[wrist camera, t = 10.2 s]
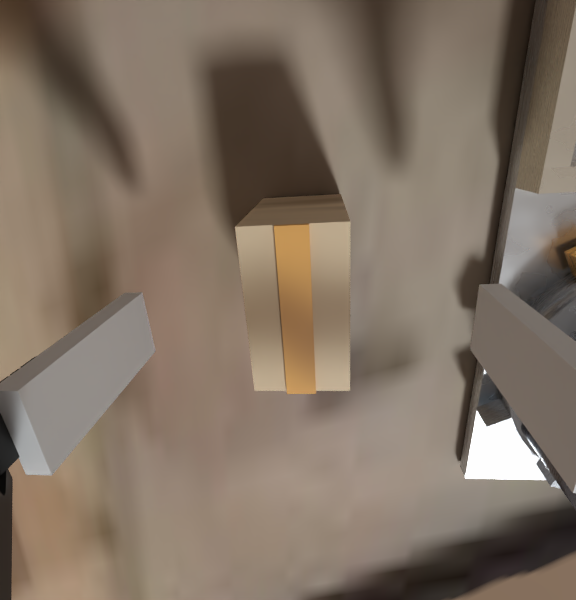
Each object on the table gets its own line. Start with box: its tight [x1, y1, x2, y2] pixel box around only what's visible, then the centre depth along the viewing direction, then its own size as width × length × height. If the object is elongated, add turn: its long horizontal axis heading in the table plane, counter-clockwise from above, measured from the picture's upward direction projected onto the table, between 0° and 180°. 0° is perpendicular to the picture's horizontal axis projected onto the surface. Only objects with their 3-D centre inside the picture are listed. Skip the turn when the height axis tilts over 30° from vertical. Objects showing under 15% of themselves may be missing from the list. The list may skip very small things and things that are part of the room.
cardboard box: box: [235, 194, 350, 394], centre depth 17 cm, size 7×4×7 cm, turn 4°
